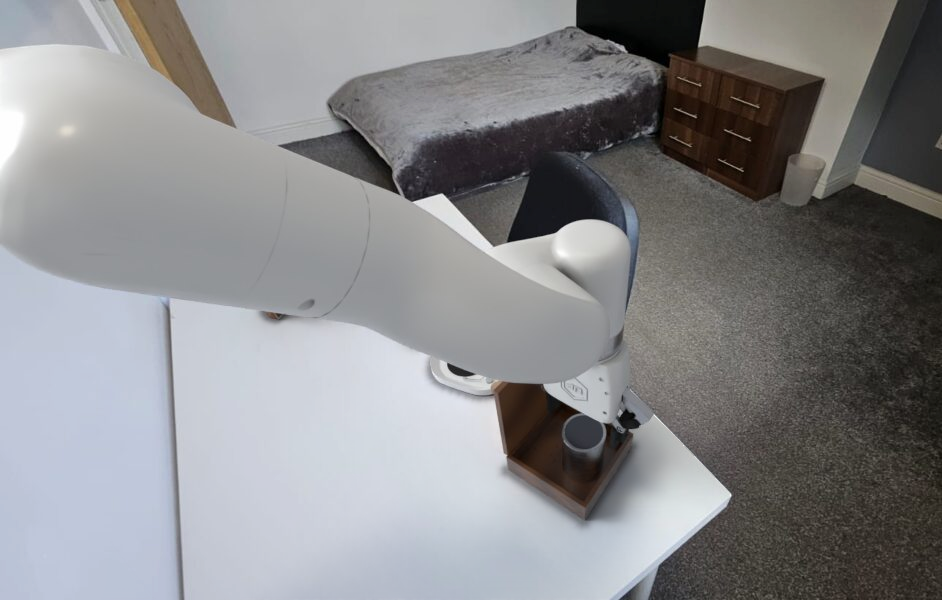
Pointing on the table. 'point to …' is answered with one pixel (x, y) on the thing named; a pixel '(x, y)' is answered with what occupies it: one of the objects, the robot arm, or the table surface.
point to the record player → (462, 378)
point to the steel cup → (583, 447)
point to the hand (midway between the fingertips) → (586, 421)
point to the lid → (518, 410)
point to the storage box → (543, 462)
